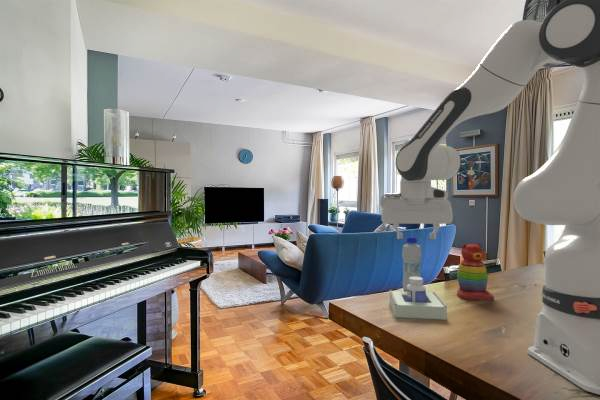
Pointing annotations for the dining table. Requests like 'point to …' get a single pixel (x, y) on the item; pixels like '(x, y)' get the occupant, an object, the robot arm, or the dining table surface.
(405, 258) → the bottle
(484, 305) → the dining table surface
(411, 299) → the pill bottle
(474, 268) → the stacking bear
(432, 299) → the holed board
